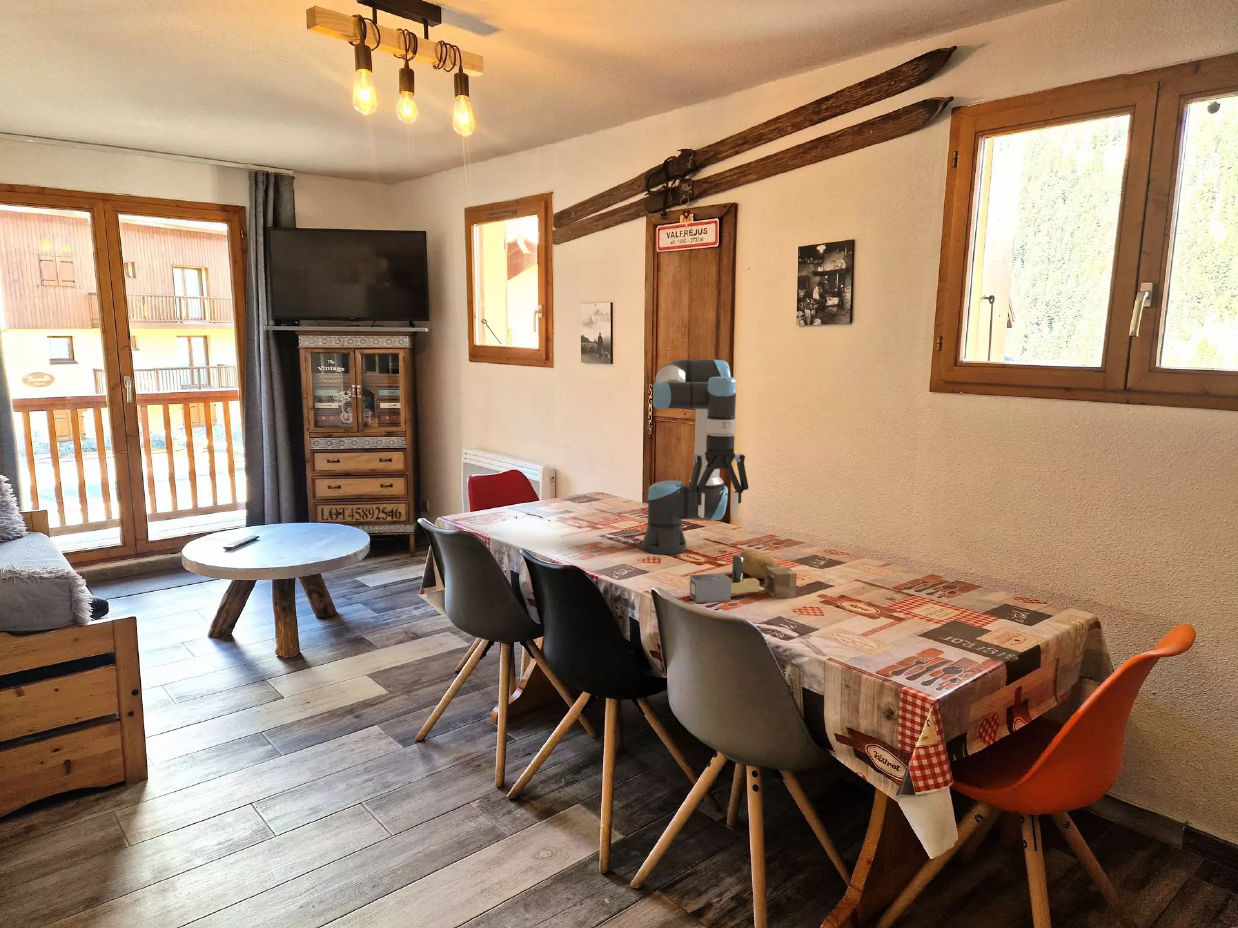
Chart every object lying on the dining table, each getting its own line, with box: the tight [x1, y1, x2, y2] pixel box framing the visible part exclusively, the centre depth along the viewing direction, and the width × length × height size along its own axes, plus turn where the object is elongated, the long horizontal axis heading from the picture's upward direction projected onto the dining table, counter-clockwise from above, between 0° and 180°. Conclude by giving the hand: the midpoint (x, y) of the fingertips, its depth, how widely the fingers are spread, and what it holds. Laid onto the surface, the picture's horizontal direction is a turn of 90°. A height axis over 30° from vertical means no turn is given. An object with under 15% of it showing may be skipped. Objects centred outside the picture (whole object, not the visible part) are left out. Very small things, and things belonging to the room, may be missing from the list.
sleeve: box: [688, 572, 732, 604], centre depth 215 cm, size 6×10×6 cm, turn 103°
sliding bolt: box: [691, 554, 760, 596], centre depth 216 cm, size 3×19×10 cm, turn 103°
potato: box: [739, 548, 779, 580], centre depth 234 cm, size 10×14×8 cm
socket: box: [763, 564, 798, 600], centre depth 220 cm, size 8×6×7 cm
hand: (717, 515), depth 212 cm, fingers open, 9 cm apart
